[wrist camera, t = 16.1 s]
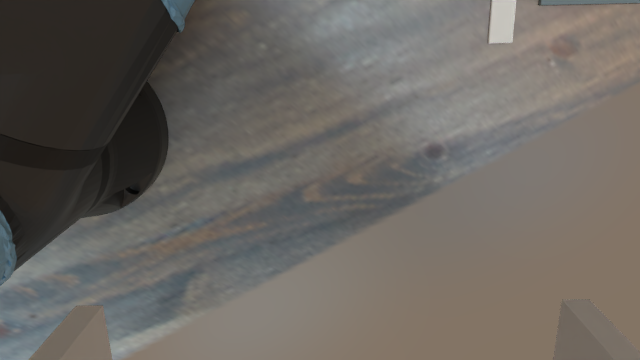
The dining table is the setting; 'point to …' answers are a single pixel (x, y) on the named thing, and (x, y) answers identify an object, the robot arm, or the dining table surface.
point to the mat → (584, 2)
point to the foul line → (501, 21)
